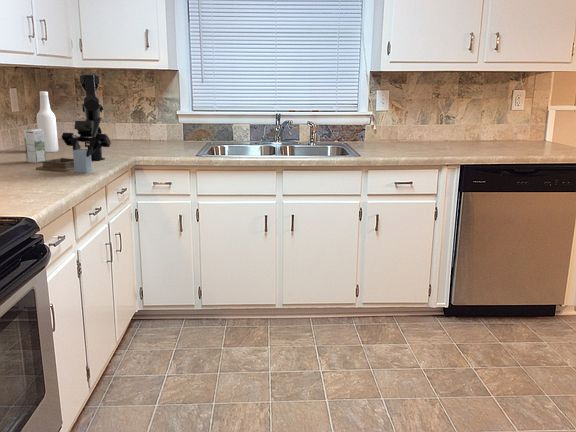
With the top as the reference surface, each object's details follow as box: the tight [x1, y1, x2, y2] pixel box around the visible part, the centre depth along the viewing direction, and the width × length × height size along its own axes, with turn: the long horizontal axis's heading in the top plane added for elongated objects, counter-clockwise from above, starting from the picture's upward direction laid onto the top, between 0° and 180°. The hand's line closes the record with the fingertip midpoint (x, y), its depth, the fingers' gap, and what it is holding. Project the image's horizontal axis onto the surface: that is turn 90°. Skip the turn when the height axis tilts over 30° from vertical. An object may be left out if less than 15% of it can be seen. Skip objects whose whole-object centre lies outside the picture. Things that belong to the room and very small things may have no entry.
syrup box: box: [23, 128, 47, 164], centre depth 229 cm, size 6×6×14 cm
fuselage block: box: [72, 148, 93, 174], centre depth 208 cm, size 5×5×9 cm
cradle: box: [35, 157, 75, 173], centre depth 216 cm, size 15×15×3 cm
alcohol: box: [36, 91, 59, 153], centre depth 260 cm, size 9×9×30 cm
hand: (80, 156), depth 206 cm, fingers closed on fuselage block, 5 cm apart
